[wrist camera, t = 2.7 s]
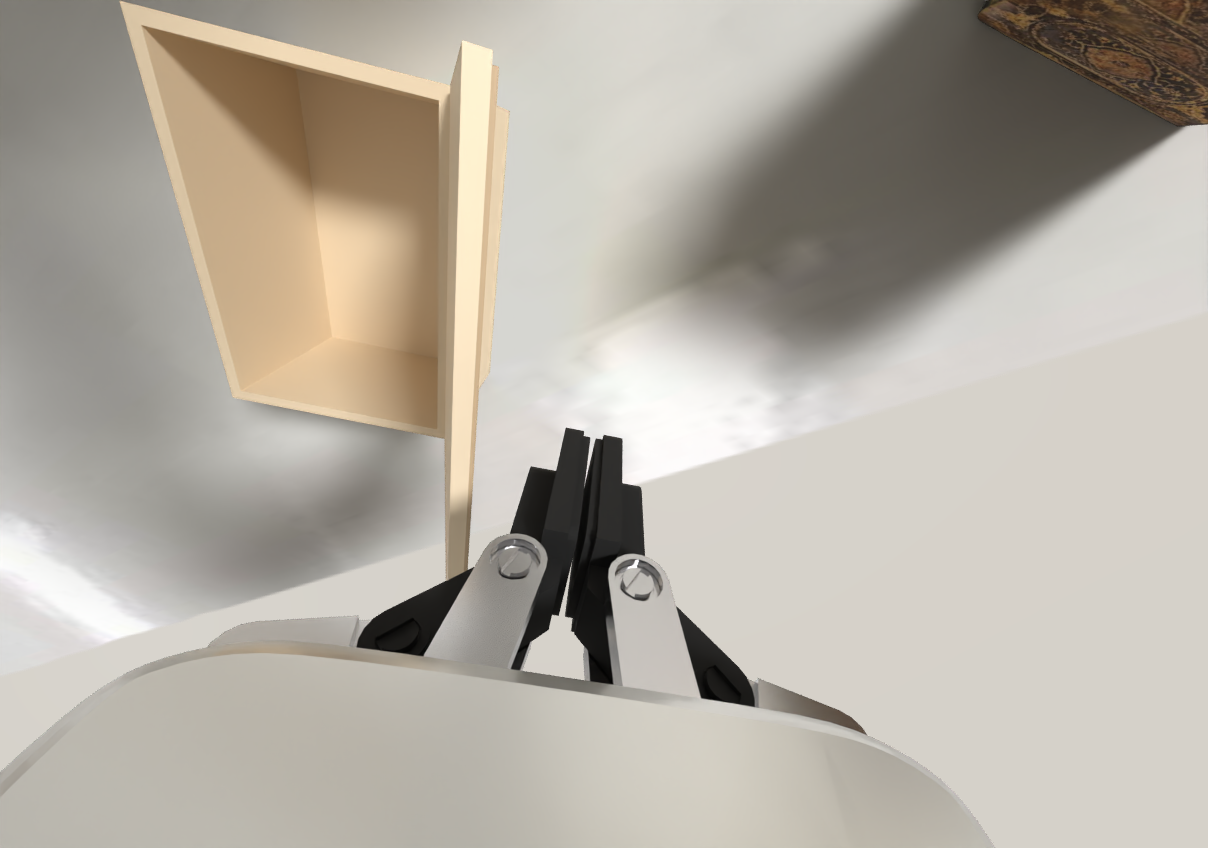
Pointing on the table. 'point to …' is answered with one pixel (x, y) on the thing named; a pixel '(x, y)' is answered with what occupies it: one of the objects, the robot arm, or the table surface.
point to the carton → (314, 217)
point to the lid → (466, 281)
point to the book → (1120, 47)
